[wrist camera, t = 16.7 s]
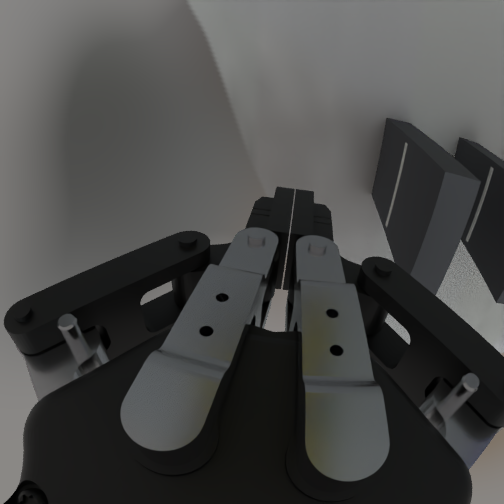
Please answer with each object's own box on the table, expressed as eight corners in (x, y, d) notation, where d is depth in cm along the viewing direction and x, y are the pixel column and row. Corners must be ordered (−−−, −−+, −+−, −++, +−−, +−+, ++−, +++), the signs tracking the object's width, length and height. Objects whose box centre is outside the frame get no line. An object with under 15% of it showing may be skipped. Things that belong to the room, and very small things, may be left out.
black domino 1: (410, 123, 19) (481, 182, 10) (394, 198, 22) (435, 295, 13) (386, 117, 19) (444, 171, 10) (370, 194, 22) (402, 291, 14)
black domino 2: (478, 143, 18) (564, 211, 9) (458, 212, 22) (517, 305, 13) (459, 137, 18) (543, 203, 9) (439, 207, 22) (495, 302, 13)
